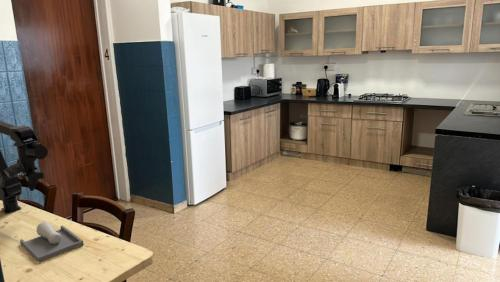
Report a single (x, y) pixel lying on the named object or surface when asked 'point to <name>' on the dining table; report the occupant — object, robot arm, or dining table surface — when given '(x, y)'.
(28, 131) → the robot arm
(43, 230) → the salt shaker
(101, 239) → the dining table surface
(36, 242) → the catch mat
